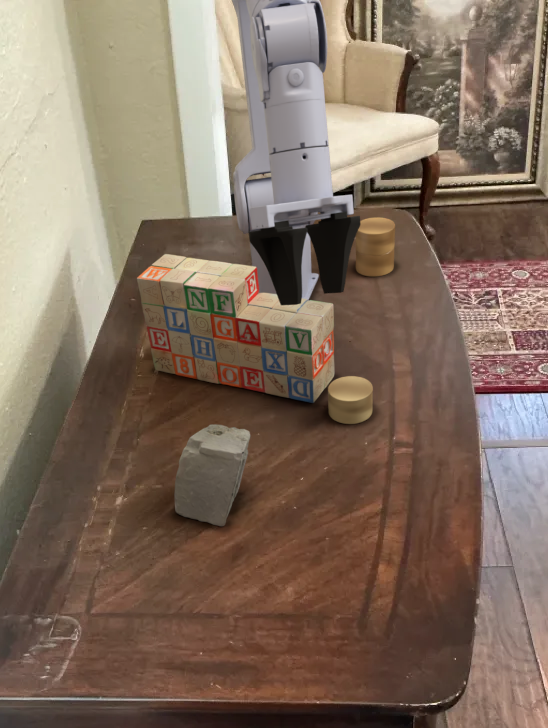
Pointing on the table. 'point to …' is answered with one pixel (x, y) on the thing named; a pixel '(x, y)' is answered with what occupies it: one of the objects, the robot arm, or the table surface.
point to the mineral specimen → (211, 473)
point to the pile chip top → (375, 236)
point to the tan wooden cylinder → (350, 399)
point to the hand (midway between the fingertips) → (313, 298)
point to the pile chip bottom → (374, 264)
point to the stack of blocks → (235, 329)
